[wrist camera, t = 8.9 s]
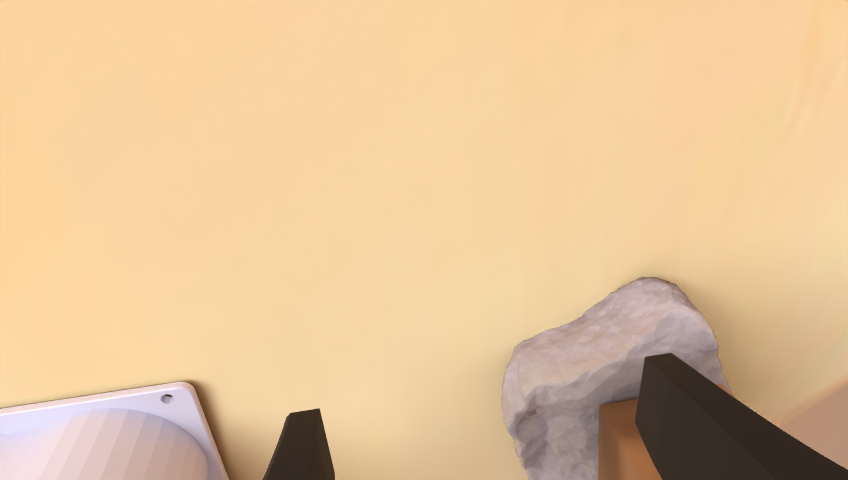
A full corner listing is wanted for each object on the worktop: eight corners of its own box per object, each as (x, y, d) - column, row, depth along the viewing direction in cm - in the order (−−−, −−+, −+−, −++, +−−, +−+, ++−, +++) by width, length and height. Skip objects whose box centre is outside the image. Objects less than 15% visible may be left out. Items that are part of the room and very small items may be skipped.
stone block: (557, 466, 33) (739, 416, 30) (570, 551, 29) (783, 504, 26) (461, 326, 27) (672, 247, 24) (460, 407, 23) (714, 324, 20)
